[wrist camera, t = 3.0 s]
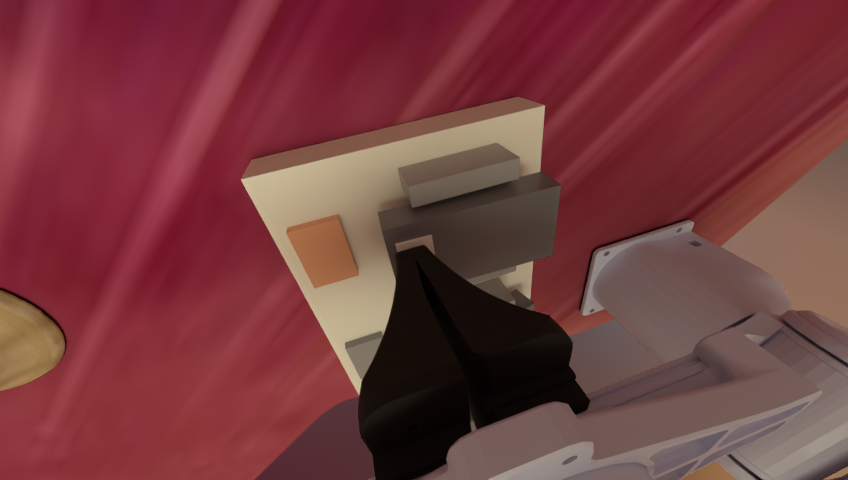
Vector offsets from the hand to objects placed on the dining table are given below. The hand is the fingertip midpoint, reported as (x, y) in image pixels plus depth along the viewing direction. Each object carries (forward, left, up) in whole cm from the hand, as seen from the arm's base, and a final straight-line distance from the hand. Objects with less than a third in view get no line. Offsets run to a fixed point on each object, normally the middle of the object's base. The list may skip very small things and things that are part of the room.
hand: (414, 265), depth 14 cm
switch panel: (-1, +9, -6) cm, 11 cm away
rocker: (-3, 0, -1) cm, 3 cm away
